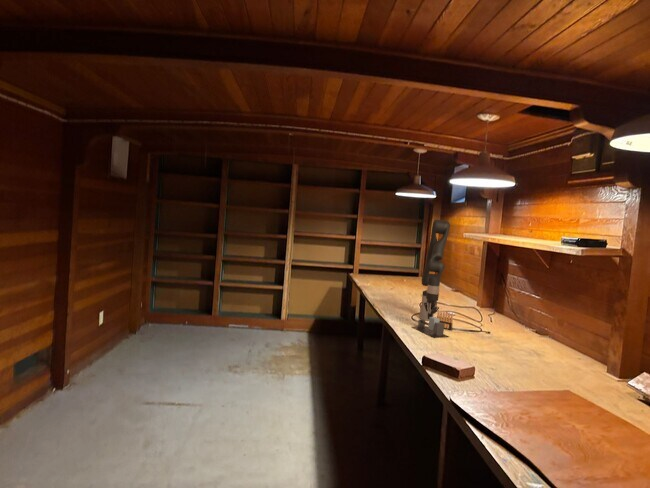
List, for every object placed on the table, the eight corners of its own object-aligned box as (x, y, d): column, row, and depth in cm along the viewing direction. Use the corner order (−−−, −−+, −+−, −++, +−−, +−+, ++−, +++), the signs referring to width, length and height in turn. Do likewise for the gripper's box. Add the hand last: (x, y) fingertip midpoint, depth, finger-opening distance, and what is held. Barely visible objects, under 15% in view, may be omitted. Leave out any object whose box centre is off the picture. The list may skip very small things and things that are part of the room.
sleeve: (428, 328, 253) (429, 317, 253) (433, 328, 255) (434, 316, 254) (433, 331, 249) (434, 319, 248) (438, 330, 250) (439, 319, 250)
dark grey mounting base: (411, 327, 263) (412, 315, 263) (426, 326, 268) (427, 315, 268) (433, 337, 242) (434, 324, 242) (449, 337, 247) (450, 324, 246)
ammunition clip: (452, 330, 265) (454, 312, 264) (451, 330, 263) (453, 312, 262) (436, 326, 270) (438, 309, 270) (435, 327, 269) (437, 309, 268)
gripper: (421, 290, 259) (418, 316, 260) (434, 294, 247) (431, 322, 248) (431, 290, 262) (428, 316, 263) (444, 294, 249) (441, 322, 251)
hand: (429, 319), depth 255 cm, fingers closed
